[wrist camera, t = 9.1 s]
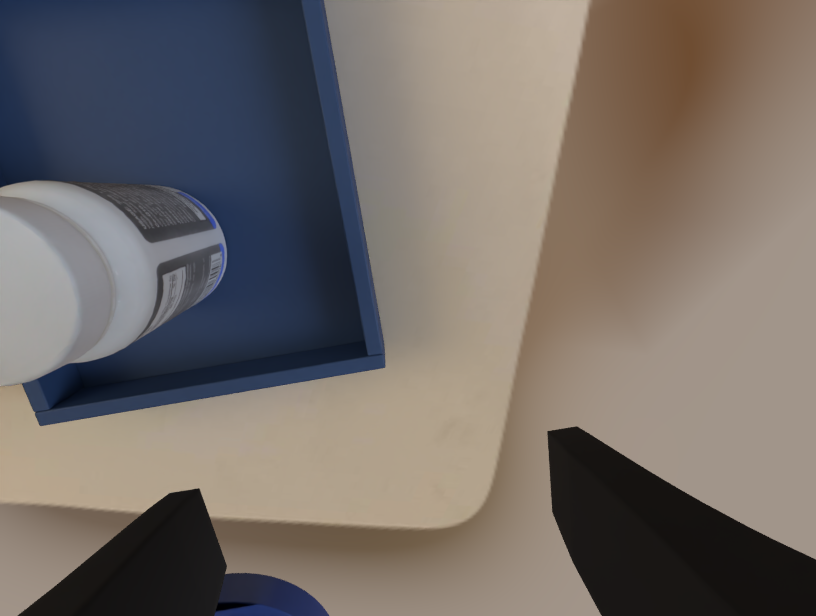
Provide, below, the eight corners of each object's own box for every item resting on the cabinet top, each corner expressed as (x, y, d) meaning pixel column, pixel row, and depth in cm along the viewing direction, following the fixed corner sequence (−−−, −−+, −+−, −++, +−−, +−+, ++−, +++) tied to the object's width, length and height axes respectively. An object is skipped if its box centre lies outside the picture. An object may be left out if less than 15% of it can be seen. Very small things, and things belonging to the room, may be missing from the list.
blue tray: (384, 345, 19) (385, 368, 16) (85, 395, 19) (39, 427, 16) (313, -57, 15) (301, -108, 12) (-69, -4, 15) (-162, -46, 12)
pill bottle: (81, 207, 16) (-221, 216, 8) (200, 169, 16) (19, 141, 8) (138, 322, 17) (-73, 432, 9) (248, 287, 17) (136, 367, 9)
